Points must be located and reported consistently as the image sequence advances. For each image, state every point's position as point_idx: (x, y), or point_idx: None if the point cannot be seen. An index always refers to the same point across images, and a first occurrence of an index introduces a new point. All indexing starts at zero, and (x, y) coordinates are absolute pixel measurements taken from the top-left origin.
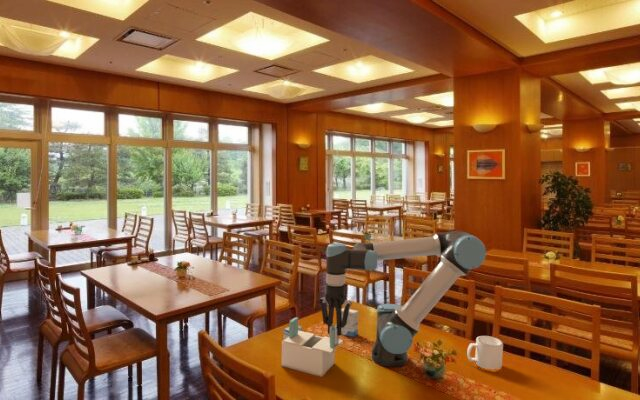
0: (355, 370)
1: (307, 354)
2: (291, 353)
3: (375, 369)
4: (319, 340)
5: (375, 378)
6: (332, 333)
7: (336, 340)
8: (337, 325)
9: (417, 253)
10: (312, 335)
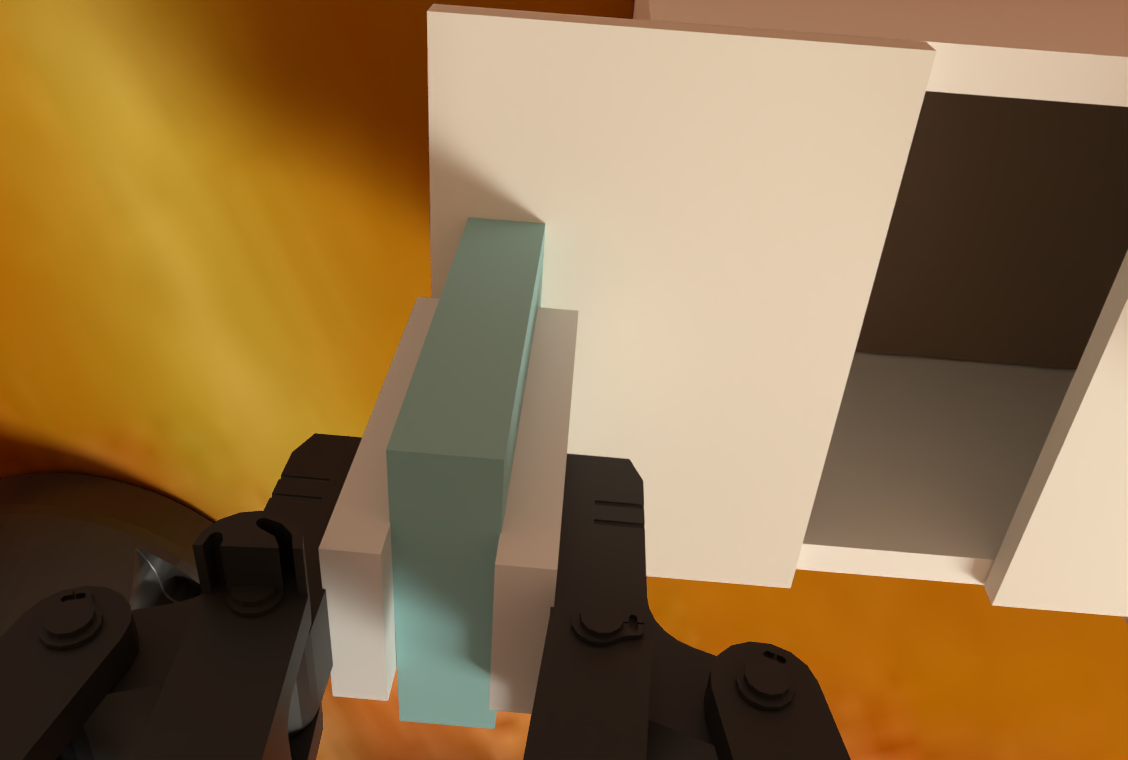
0: (304, 283)
1: (984, 15)
2: None
3: (121, 383)
4: (867, 512)
5: (11, 196)
6: (444, 391)
7: (399, 347)
8: (268, 624)
9: None
10: (1025, 547)
